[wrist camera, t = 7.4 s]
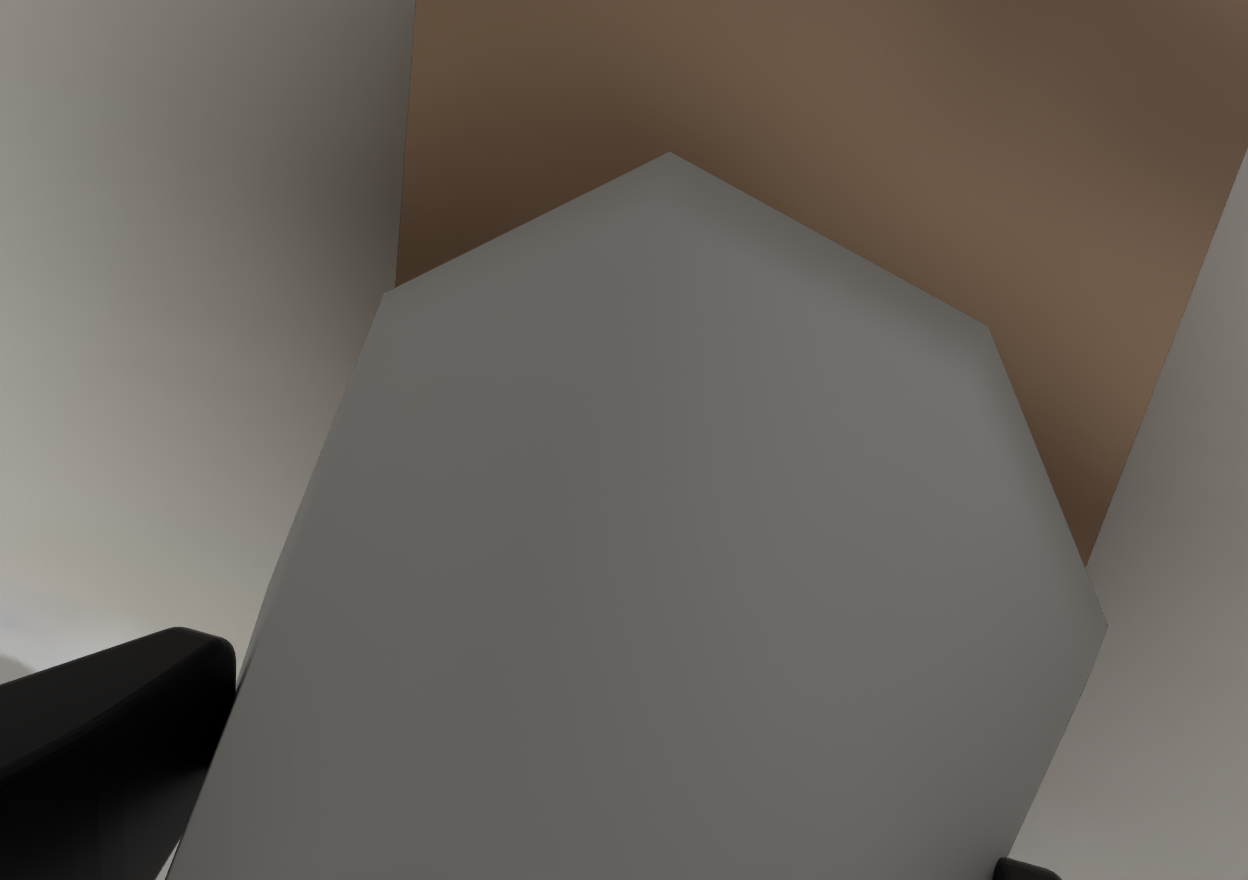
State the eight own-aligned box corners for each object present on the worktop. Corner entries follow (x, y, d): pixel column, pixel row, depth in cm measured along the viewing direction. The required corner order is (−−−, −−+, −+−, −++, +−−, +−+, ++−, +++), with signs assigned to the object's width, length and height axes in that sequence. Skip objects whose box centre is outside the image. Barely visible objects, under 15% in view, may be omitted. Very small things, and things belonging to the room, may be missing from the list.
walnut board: (951, 859, 21) (954, 905, 20) (387, 701, 23) (363, 735, 22) (1334, -164, 14) (1373, -179, 13) (468, -287, 16) (437, -308, 15)
